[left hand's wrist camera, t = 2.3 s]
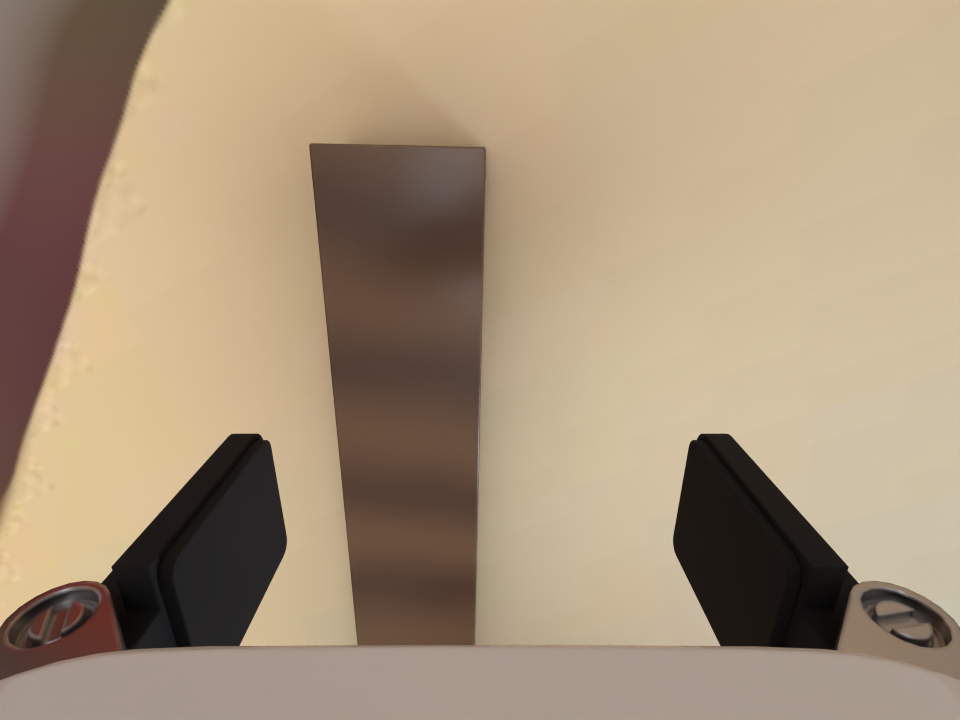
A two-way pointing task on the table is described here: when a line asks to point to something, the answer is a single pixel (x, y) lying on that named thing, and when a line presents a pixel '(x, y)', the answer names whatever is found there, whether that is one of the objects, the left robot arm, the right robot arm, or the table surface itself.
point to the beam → (406, 378)
